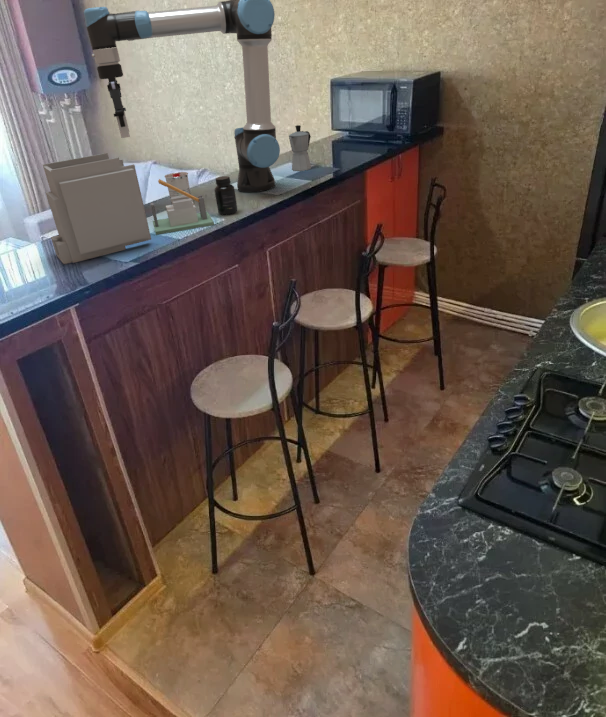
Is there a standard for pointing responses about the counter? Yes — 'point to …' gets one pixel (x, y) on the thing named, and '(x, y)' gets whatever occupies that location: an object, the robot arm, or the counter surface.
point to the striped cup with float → (178, 183)
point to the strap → (178, 190)
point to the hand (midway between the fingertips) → (125, 134)
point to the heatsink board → (181, 227)
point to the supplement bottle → (225, 196)
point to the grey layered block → (95, 207)
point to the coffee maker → (300, 149)
